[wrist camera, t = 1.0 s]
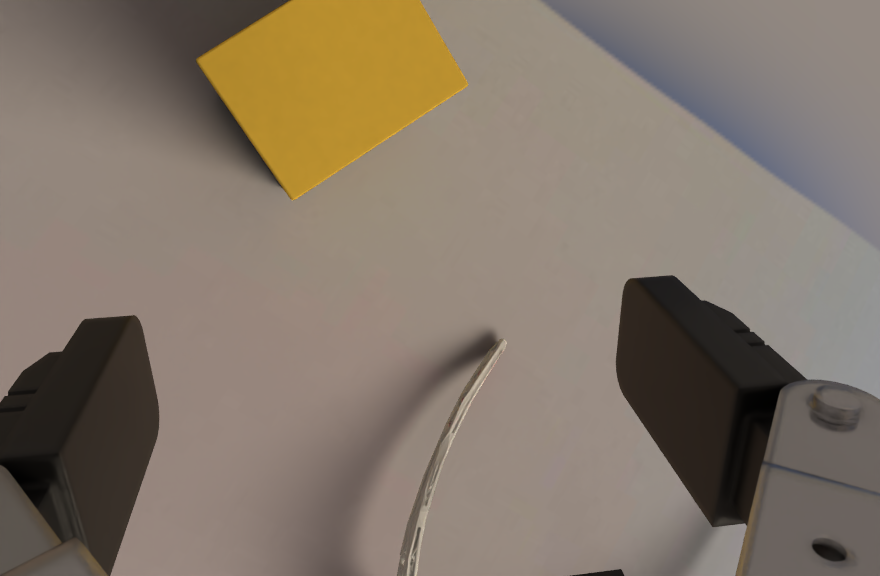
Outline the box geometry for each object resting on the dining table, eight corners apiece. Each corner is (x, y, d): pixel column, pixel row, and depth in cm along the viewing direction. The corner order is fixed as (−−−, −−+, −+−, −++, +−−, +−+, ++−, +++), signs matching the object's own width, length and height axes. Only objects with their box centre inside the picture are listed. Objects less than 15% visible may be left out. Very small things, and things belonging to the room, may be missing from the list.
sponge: (216, 92, 27) (194, 58, 19) (348, 8, 28) (385, -61, 19) (284, 190, 29) (292, 201, 20) (409, 108, 29) (469, 84, 21)
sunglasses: (318, 681, 32) (337, 750, 27) (454, 324, 34) (494, 330, 29) (635, 758, 37) (697, 828, 32) (738, 441, 39) (812, 462, 34)
